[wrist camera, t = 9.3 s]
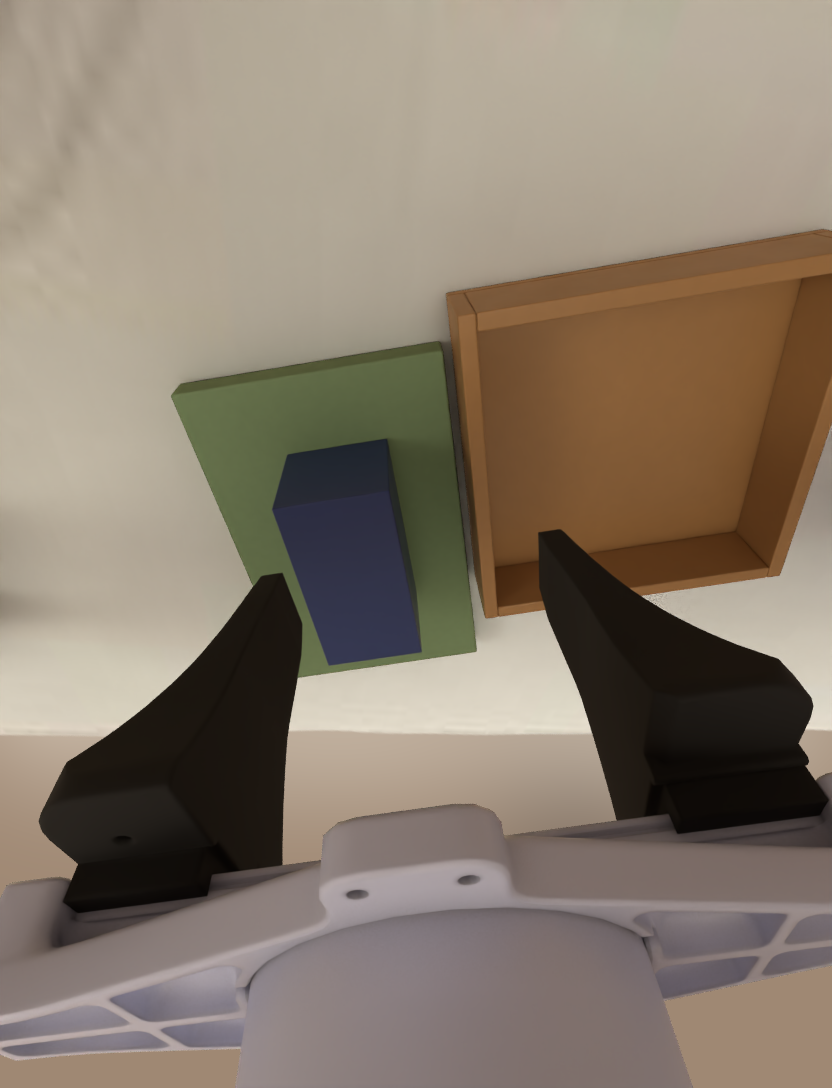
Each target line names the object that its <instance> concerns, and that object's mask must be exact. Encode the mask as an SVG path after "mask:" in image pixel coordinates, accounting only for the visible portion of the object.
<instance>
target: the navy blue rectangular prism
mask: <svg viewBox="0 0 832 1088" xmlns="http://www.w3.org/2000/svg"><path fill="white" fill-rule="evenodd" d="M272 512H273V514H274V517H275V520H276V523H277V525H278V528H279V531H280V534H281V536H282V539H283V542H284V545H285V547H286V550H287V553H288V556H289V558H290V561H291V564H292V567H293V569H294V572H295V575H296V578H297V580H298V583H299V586H300V589H301V591H302V594H303V597H304V600H305V602H306V605H307V608H308V611H309V613H310V616H311V619H312V622H313V624H314V627H315V630H316V633H317V635H318V638H319V641H320V644H321V646H322V649H323V652H324V655H325V657H326V660H327V663H328V665H329V666H332V665H339V664H345V663H352V662H359V661H366V660H373V659H380V658H387V657H394V656H400V655H407V654H414V653H421V652H422V646H421V635H420V625H419V614H418V603H417V593H416V586H415V581H414V576H413V570H412V565H411V560H410V555H409V550H408V544H407V539H406V534H405V529H404V524H403V518H402V513H401V508H400V503H399V498H398V492H397V487H396V482H395V477H394V472H393V466H392V461H391V456H390V451H389V446H388V440H387V439H381V440H375V441H368V442H362V443H356V444H350V445H343V446H337V447H331V448H325V449H318V450H312V451H306V452H300V453H293V454H288V455H287V457H286V460H285V464H284V467H283V471H282V475H281V478H280V482H279V485H278V489H277V493H276V496H275V500H274V503H273V507H272Z"/></svg>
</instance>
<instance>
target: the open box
mask: <svg viewBox="0 0 832 1088" xmlns="http://www.w3.org/2000/svg"><path fill="white" fill-rule="evenodd" d="M446 298H447V308H448V317H449V327H450V337H451V346H452V356H453V366H454V376H455V385H456V395H457V405H458V415H459V424H460V434H461V444H462V454H463V463H464V473H465V483H466V493H467V502H468V512H469V522H470V532H471V541H472V551H473V561H474V571H475V577H476V581H477V585H478V590H479V594H480V598H481V602H482V607H483V611H484V615H485V618H493V617H498V616H507V615H514V614H520V613H527V612H534V611H541V610H545V607H544V603H543V600H542V596H541V592H540V589H539V549H538V532H544V531H550V530H556V529H561V530H563V531H564V532H565V533H566V534H567V535H568V536H569V537H570V538H571V539H572V540H573V541H574V542H575V543H576V544H577V545H578V546H580V547H581V548H582V549H583V550H584V551H585V552H586V553H587V554H588V555H589V556H590V557H592V558H593V559H594V560H595V561H596V562H597V563H599V564H600V565H601V566H602V567H603V568H605V569H606V570H607V571H608V572H609V573H611V574H612V575H613V576H614V577H616V578H617V579H618V580H619V581H621V582H622V583H623V584H625V585H626V586H627V587H629V588H630V589H632V590H633V591H634V592H636V593H637V594H639V595H640V596H643V595H650V594H656V593H663V592H670V591H677V590H684V589H690V588H697V587H704V586H711V585H717V584H724V583H731V582H738V581H745V580H751V579H758V578H765V577H773V576H779V575H780V573H781V570H782V568H783V565H784V562H785V559H786V556H787V553H788V550H789V547H790V544H791V541H792V538H793V535H794V532H795V529H796V526H797V524H798V521H799V518H800V515H801V512H802V509H803V506H804V503H805V500H806V497H807V494H808V491H809V488H810V485H811V483H812V480H813V477H814V474H815V471H816V468H817V465H818V462H819V459H820V456H821V453H822V450H823V447H824V444H825V441H826V439H827V436H828V433H829V430H830V427H831V424H832V231H829V230H824V229H822V230H816V231H810V232H804V233H798V234H792V235H786V236H781V237H775V238H769V239H763V240H757V241H751V242H745V243H739V244H733V245H727V246H721V247H716V248H710V249H704V250H698V251H692V252H686V253H680V254H674V255H668V256H662V257H656V258H651V259H645V260H639V261H633V262H627V263H621V264H615V265H609V266H603V267H597V268H591V269H586V270H580V271H574V272H568V273H562V274H556V275H550V276H544V277H538V278H532V279H527V280H521V281H515V282H509V283H503V284H497V285H491V286H485V287H479V288H473V289H467V290H462V291H456V292H450V293H446Z"/></svg>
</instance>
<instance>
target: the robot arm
mask: <svg viewBox="0 0 832 1088" xmlns="http://www.w3.org/2000/svg"><path fill="white" fill-rule="evenodd" d="M538 549H539V589H540V592H541V596H542V600H543V603H544V607H545V610H546V613H547V617H548V620H549V622H550V625H551V627H552V629H553V632H554V634H555V636H556V639H557V641H558V643H559V646H560V648H561V650H562V653H563V655H564V657H565V660H566V662H567V664H568V666H569V669H570V671H571V673H572V676H573V678H574V680H575V683H576V685H577V688H578V690H579V693H580V696H581V698H582V702H583V705H584V708H585V711H586V714H587V718H588V721H589V724H590V727H591V731H592V734H593V737H594V741H595V744H596V747H597V751H598V754H599V758H600V761H601V764H602V768H603V772H604V775H605V779H606V782H607V785H608V790H609V793H610V797H611V800H612V804H613V808H614V812H615V815H616V819H617V821H611V822H604V823H596V824H588V825H581V826H574V827H566V828H558V829H551V830H543V831H536V832H528V833H521V834H514V835H503V829H502V824H501V821H500V820H499V818H498V817H497V816H496V814H495V813H494V812H493V811H491V810H490V809H487V808H484V807H481V806H478V805H475V804H450V805H442V806H435V807H428V808H421V809H413V810H406V811H398V812H391V813H384V814H377V815H370V816H362V817H356V818H352V819H349V820H346V821H342V822H338V823H337V824H336V825H335V826H334V827H332V828H331V829H330V830H329V831H328V832H326V834H324V835H323V845H322V858H321V859H322V860H319V861H312V862H304V863H296V864H289V865H282V841H283V801H284V781H285V764H286V748H287V737H288V730H289V723H290V718H291V712H292V707H293V701H294V696H295V690H296V685H297V679H298V673H299V667H300V661H301V654H302V627H303V624H302V621H301V619H300V616H299V613H298V611H297V608H296V606H295V603H294V601H293V598H292V595H291V593H290V590H289V588H288V585H287V583H286V580H285V578H284V575H283V572H282V573H276V574H269V575H263V576H261V577H260V578H259V580H258V581H257V582H256V584H255V585H254V586H253V588H252V589H251V590H250V592H249V593H248V595H247V596H246V597H245V599H244V600H243V602H242V603H241V604H240V606H239V607H238V608H237V610H236V611H235V612H234V614H233V615H232V616H231V618H230V619H229V620H228V622H227V623H226V624H225V626H224V627H223V628H222V630H221V631H220V632H219V633H218V634H217V636H216V637H215V638H214V639H213V640H212V642H211V643H210V644H209V645H208V646H207V648H206V649H205V650H204V651H203V652H202V653H201V655H200V656H199V657H198V658H197V659H196V660H195V661H194V662H193V663H192V664H191V665H190V666H189V667H188V668H187V669H186V670H185V671H184V672H183V673H182V674H181V675H180V676H179V677H178V678H177V679H176V680H175V681H174V682H173V683H172V684H171V685H170V686H169V687H168V688H166V689H165V690H164V691H163V692H162V693H161V694H160V695H158V696H157V697H156V698H155V699H154V700H153V701H152V702H150V703H149V704H148V705H147V706H146V707H145V708H143V709H142V710H141V711H140V712H138V713H137V714H136V715H135V716H133V717H132V718H131V719H129V720H128V721H127V722H125V723H124V724H123V725H121V726H120V727H119V728H117V729H116V730H115V731H113V732H112V733H110V734H109V735H108V736H106V737H105V738H103V739H102V740H100V741H99V742H97V743H96V744H94V745H93V746H91V747H90V748H88V749H87V750H85V751H83V752H82V753H80V754H79V755H77V756H76V757H74V758H73V759H71V760H69V761H68V762H67V763H66V765H65V766H64V768H63V770H62V772H61V775H60V776H59V778H58V780H57V782H56V784H55V786H54V788H53V790H52V792H51V794H50V796H49V798H48V800H47V802H46V804H45V806H44V808H43V810H42V812H41V815H40V818H39V824H40V827H41V830H42V832H43V833H44V834H45V835H46V836H47V838H48V839H49V840H50V841H52V842H53V843H54V844H55V845H56V846H57V847H59V848H60V849H61V850H62V851H63V852H64V853H66V854H67V855H68V856H69V857H71V858H72V859H73V860H74V861H75V862H76V863H78V866H77V868H76V871H75V873H74V875H73V878H72V880H70V879H67V878H62V877H51V878H43V879H36V880H29V881H21V882H14V883H10V884H9V885H7V886H6V888H5V890H4V892H3V894H2V896H1V898H0V1055H2V1056H5V1057H8V1058H10V1059H13V1060H17V1061H18V1060H27V1059H37V1058H47V1057H56V1056H68V1055H81V1054H94V1053H95V1054H96V1053H115V1052H137V1051H138V1052H139V1051H140V1052H141V1051H176V1050H208V1049H209V1050H212V1049H241V1052H240V1059H239V1066H238V1073H237V1079H236V1086H235V1088H693V1086H692V1083H691V1080H690V1077H689V1074H688V1072H687V1069H686V1066H685V1062H684V1060H683V1057H682V1054H681V1051H680V1048H679V1045H678V1042H677V1039H676V1036H675V1033H674V1030H673V1027H672V1024H671V1021H670V1018H669V1015H668V1012H667V1009H666V1006H665V1003H664V1001H666V1000H670V999H675V998H680V997H685V996H690V995H694V994H699V993H703V992H708V991H713V990H718V989H722V988H727V987H731V986H737V985H741V984H746V983H750V982H755V981H760V980H764V979H769V978H774V977H778V976H783V975H788V974H792V973H797V972H802V971H807V970H812V969H817V968H822V967H827V966H832V772H831V773H827V774H825V775H823V776H821V777H819V778H818V779H817V780H814V778H813V776H812V775H811V774H810V772H809V771H808V769H807V768H806V766H805V765H808V763H809V760H808V757H807V755H806V754H805V752H804V751H803V749H802V748H801V746H800V745H799V744H798V743H799V741H800V739H801V737H802V735H803V733H804V731H805V728H806V726H807V724H808V722H809V720H810V717H811V714H812V710H813V703H812V698H811V697H810V695H809V694H808V693H807V692H806V690H805V689H804V688H803V686H802V685H801V684H800V682H799V681H798V680H797V679H796V677H795V676H794V675H793V674H792V673H791V672H790V671H789V670H788V669H787V667H786V666H785V665H784V664H783V663H782V662H781V661H780V660H779V659H777V658H774V657H771V656H768V655H765V654H762V653H760V652H757V651H754V650H751V649H748V648H745V647H742V646H739V645H737V644H734V643H732V642H729V641H727V640H724V639H722V638H719V637H717V636H715V635H712V634H710V633H708V632H706V631H703V630H701V629H699V628H697V627H695V626H693V625H691V624H689V623H687V622H685V621H683V620H681V619H679V618H677V617H675V616H673V615H672V614H670V613H668V612H666V611H664V610H663V609H661V608H659V607H658V606H656V605H654V604H653V603H651V602H649V601H648V600H646V599H645V598H643V597H641V596H640V595H639V594H637V593H636V592H634V591H633V590H632V589H630V588H629V587H627V586H626V585H625V584H623V583H622V582H621V581H619V580H618V579H617V578H616V577H614V576H613V575H612V574H611V573H609V572H608V571H607V570H606V569H605V568H603V567H602V566H601V565H600V564H599V563H597V562H596V561H595V560H594V559H593V558H592V557H590V556H589V555H588V554H587V553H586V552H585V551H584V550H583V549H582V548H581V547H580V546H578V545H577V544H576V543H575V542H574V541H573V540H572V539H571V538H570V537H569V536H568V535H567V534H566V533H565V532H564V531H563V530H561V529H556V530H550V531H544V532H538Z"/></svg>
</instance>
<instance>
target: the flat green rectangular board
mask: <svg viewBox="0 0 832 1088" xmlns="http://www.w3.org/2000/svg"><path fill="white" fill-rule="evenodd" d="M171 397H172V400H173V402H174V404H175V407H176V409H177V411H178V414H179V416H180V418H181V421H182V423H183V425H184V428H185V430H186V432H187V434H188V437H189V439H190V441H191V444H192V446H193V448H194V451H195V453H196V455H197V458H198V460H199V462H200V465H201V467H202V469H203V471H204V474H205V476H206V478H207V481H208V483H209V485H210V488H211V490H212V492H213V495H214V497H215V499H216V502H217V504H218V506H219V508H220V511H221V513H222V515H223V518H224V520H225V522H226V525H227V527H228V529H229V532H230V534H231V536H232V539H233V541H234V543H235V545H236V548H237V550H238V552H239V555H240V557H241V559H242V562H243V564H244V566H245V569H246V571H247V573H248V576H249V578H250V580H251V582H252V585H253V586H254V585H255V584H256V582H257V581H258V580H259V578H260V577H261V576H263V575H269V574H276V573H282V572H283V575H284V578H285V580H286V583H287V585H288V588H289V590H290V593H291V595H292V598H293V601H294V603H295V606H296V608H297V611H298V613H299V616H300V619H301V621H302V624H303V627H302V654H301V661H300V667H299V673H298V678H299V677H306V676H313V675H320V674H327V673H334V672H341V671H347V670H354V669H361V668H368V667H375V666H382V665H389V664H396V663H403V662H410V661H416V660H423V659H430V658H437V657H444V656H451V655H458V654H465V653H472V652H476V651H477V648H476V639H475V630H474V621H473V612H472V604H471V595H470V586H469V577H468V568H467V559H466V550H465V541H464V532H463V523H462V514H461V506H460V497H459V488H458V479H457V470H456V461H455V452H454V443H453V434H452V425H451V417H450V408H449V399H448V390H447V381H446V372H445V363H444V354H443V350H442V347H441V344H440V342H432V343H426V344H420V345H414V346H408V347H402V348H396V349H390V350H384V351H378V352H372V353H366V354H360V355H354V356H347V357H341V358H335V359H329V360H323V361H317V362H311V363H305V364H299V365H293V366H287V367H281V368H275V369H269V370H263V371H257V372H251V373H245V374H239V375H233V376H227V377H221V378H215V379H209V380H203V381H197V382H191V383H185V384H180V385H179V386H178V388H177V389H176V390H175V391H174V393H173V394H172V395H171ZM381 439H387V440H388V446H389V451H390V456H391V461H392V466H393V472H394V477H395V482H396V487H397V492H398V498H399V503H400V508H401V513H402V518H403V524H404V529H405V534H406V539H407V544H408V550H409V555H410V560H411V565H412V570H413V576H414V581H415V586H416V593H417V603H418V614H419V625H420V635H421V646H422V652H421V653H414V654H407V655H400V656H394V657H387V658H380V659H373V660H366V661H359V662H352V663H345V664H339V665H332V666H329V665H328V663H327V660H326V657H325V655H324V652H323V649H322V646H321V644H320V641H319V638H318V635H317V633H316V630H315V627H314V624H313V622H312V619H311V616H310V613H309V611H308V608H307V605H306V602H305V600H304V597H303V594H302V591H301V589H300V586H299V583H298V580H297V578H296V575H295V572H294V569H293V567H292V564H291V561H290V558H289V556H288V553H287V550H286V547H285V545H284V542H283V539H282V536H281V534H280V531H279V528H278V525H277V523H276V520H275V517H274V514H273V512H272V507H273V503H274V500H275V496H276V493H277V489H278V485H279V482H280V478H281V475H282V471H283V467H284V464H285V460H286V457H287V455H288V454H293V453H300V452H306V451H312V450H318V449H325V448H331V447H337V446H343V445H350V444H356V443H362V442H368V441H375V440H381Z"/></svg>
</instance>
